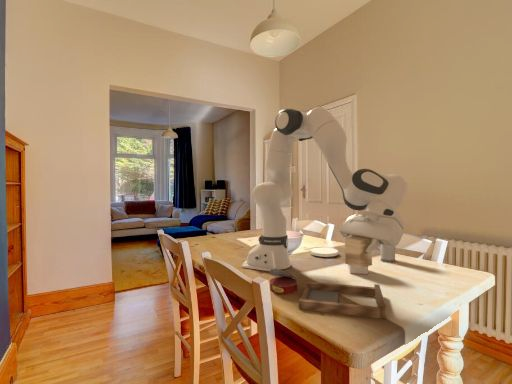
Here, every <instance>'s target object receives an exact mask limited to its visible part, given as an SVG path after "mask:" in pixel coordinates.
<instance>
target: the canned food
mask: <svg viewBox="0 0 512 384" xmlns="http://www.w3.org/2000/svg"><path fill="white" fill-rule="evenodd" d="M268 272H269V274H270V275H272V276H275V277H273V278H271V279H270V280H269V285H270V286H269V288H270V289H269V290H270V291H271V293H274V294H278V295H290V294H291V295H292V294H294V293H296V292H297V291H298V280H297V279H298V277H297V276H295V275H293V274H290V273H288V272H286V271H284V270H283V269H281V270H279V269H271V270H270V271H268Z"/></svg>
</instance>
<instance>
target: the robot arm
mask: <svg viewBox="0 0 512 384" xmlns="http://www.w3.org/2000/svg"><path fill="white" fill-rule="evenodd" d="M274 126H275V129H273V131H272V133H271V135H270V140H269V144H268V149H267V154H266V163H265V169H266V171H267V173H268V181H264V182H261V183H259V184H257V185H255V186H254V187H253V190H252V192H251V193H252V194H251V195H252V196H251V197H252V200H253V202H254V203H255V204H256V205H257V207H258V209H259V213H260V216H261V223H262V234H261V235H260V236H259V237H258V238H257V239H258V240H257V241H258V242H259V243H258V244H257V245H254V247H253V248H251V249H250V251H248V253H247V258H246V260H243V261H244V262H242V268H244V269H251V270H258V271H265V272H270V270H271V269H279V270H285V269H288V268H290V267H291V266H292V264H291V261H290V258H289V257H290V256H289V250H288V247H289V239H288V237H289V236H288V234H287V218H286V216H285V215H284V213H283V210H282V205H285V204H286V203H288V202H290V201H291V199H293V196H294V191H293V188H292V185H291V176H290V175H291V173H290V171H291V163H292V156H293V149H294V144H295V143H296V141H297V140H298V141H299V142H303V141H306V140H307V141H308V140H311V139H313V140H314V142H315V143H316V145H317V146H318V148H319V150H320V151H321V153H322V155H323V157H324V159H325V160H326V163H327V165H328V167H329V169H330V171H331V173H332V174H333V177H334V178H335V180H336V182H337V184H338V185H339V187H340V190H341V193H342V199H343V202H344V204H345V206H347V207H348V208H350V209H351V210H354V211H363V212H362V214H357V213H354V214H353V215H351V216H348V217H347V218H346V219H345V220H344V222H343V223H342V224H341V226H340V227H339V233H340V234H341V236H343V238H351V237H363V238H368V239H372V243H371V244H370V245H369V246H365V248H364V250H363V251H364V252H365V253H366V254H369V255H370V254H371V252H373V251H374V250H376V249H378V248H379V247H380V246H381V245H386V246H390V247H395V248H396V247H397V246H398V245H399V244H400V242H401V240H402V237H403V235H404V230H405V229H406V228H407V223H406V222H405V220H404V218H403V217H402V216H401V215H400V213H399V212H398V209H400V208H401V206H402V204H403V203H404V200H405V199H406V196H407V194H408V192H409V191H408V190H409V189H408V187H409V185H408V182H407V181H406V180H405V178H404V177H402V176H400V175H398V174H395V173H391V174H390V173H389V174H384V173H381V172H376V171H374V170H373V169H371V168H370V169H369V168H361V169H358V170H356V171H355V172H354V173H353V172H352V170H351V169H350V167H349V165H348V163H347V160H346V159H347V158H346V156H347V155H346V149H347V142H348V141H347V135H346V132H345V129H344V128H343V126H342V125H341V124H340V122H339V121H338V120H337V119H336V117H335V116H334V115H333V114H332V113H331V112H329V111H328V110H327V109H326V108H325V107H322V106H316V107H313V108H312V109H310V110H309V111H308V112H305V111H300V110H297V109H293V108H284V109H281V110H279V112H278V113H277V115H276V117H275V121H274Z"/></svg>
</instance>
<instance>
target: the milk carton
mask: <svg viewBox="0 0 512 384" xmlns="http://www.w3.org/2000/svg"><path fill="white" fill-rule="evenodd" d="M347 269H348V271H349V274H360V275H363V274H364V275H368V274H369V266H367V267H363V268H357V267H354V266H351V265H348V264H347Z"/></svg>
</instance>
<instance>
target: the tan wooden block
mask: <svg viewBox="0 0 512 384" xmlns="http://www.w3.org/2000/svg"><path fill="white" fill-rule="evenodd" d="M371 243H372V239H368V238H363V237H351V238H346V237H344V250H345V251H344V256H345V257H344V258H345V262H344V263H345V265H347V266H348V265H351V266H354V267H357V268H363V267H367V266H368V267H370V266H371V267H372V266H373V253H372V252H373V251H372V252H371V254H370V255H369V254H366V253H365V252H364V251H363V250H364V248H365V246H369V245H370V244H371Z"/></svg>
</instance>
